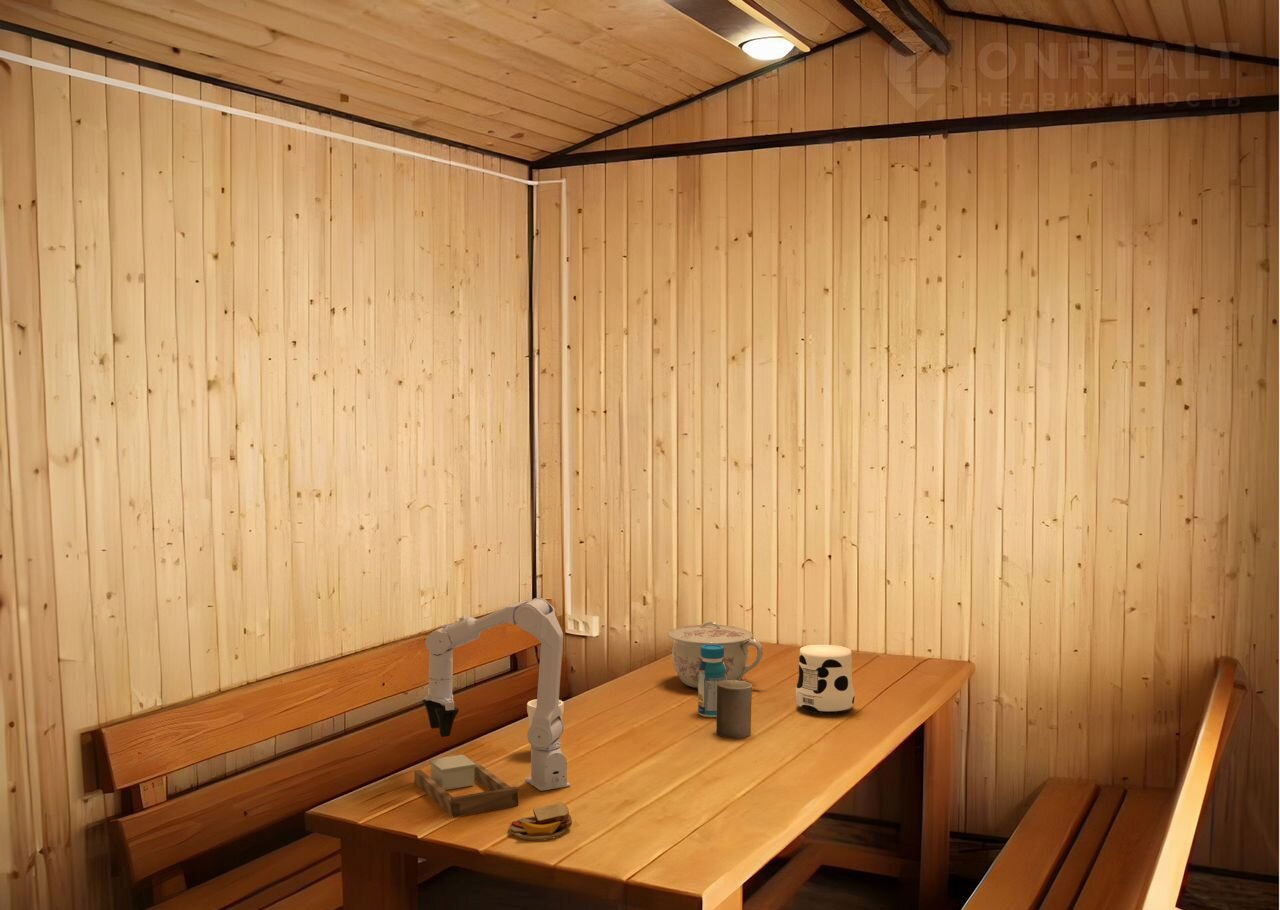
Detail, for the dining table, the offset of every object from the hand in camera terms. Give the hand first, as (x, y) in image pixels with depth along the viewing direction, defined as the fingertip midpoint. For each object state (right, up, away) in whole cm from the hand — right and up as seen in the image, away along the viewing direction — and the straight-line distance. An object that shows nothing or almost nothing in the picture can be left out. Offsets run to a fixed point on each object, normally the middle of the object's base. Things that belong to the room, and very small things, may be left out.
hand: (440, 732), depth 292 cm
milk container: (+104, -8, +60) cm, 120 cm away
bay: (+8, -11, -15) cm, 20 cm away
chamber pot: (+72, -6, +89) cm, 114 cm away
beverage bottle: (+70, -8, +55) cm, 89 cm away
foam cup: (+25, -10, +18) cm, 32 cm away
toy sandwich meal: (+28, -13, -37) cm, 48 cm away
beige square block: (+4, -10, -8) cm, 14 cm away
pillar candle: (+75, -9, +36) cm, 84 cm away
